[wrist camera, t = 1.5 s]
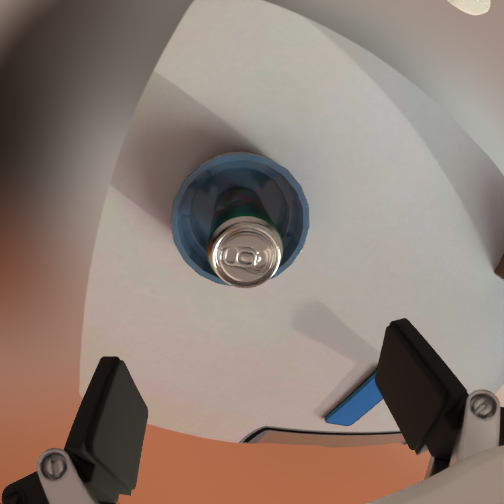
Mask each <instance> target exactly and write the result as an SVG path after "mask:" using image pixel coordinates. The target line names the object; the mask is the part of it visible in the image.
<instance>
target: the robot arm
mask: <svg viewBox="0 0 504 504" xmlns="http://www.w3.org/2000/svg"><path fill="white" fill-rule="evenodd" d="M375 384H376V386H377V388H378V390H379V392H380V393H381V395H382V397H383V399H384V401H385V403H386V404H387V406H388V408H389V410H390V412H391V414H392V416H393V417H394V419H395V421H396V423H397V425H398V427H399V429H400V431H401V433H402V435H403V436H404V438H405V440H406V442H407V444H408V446H409V448H410V449H411V450H415V452H416V454H417V455H418V454H421V453H423V452H425V451H427V450H429V452H430V454H431V459H430V462H429V466H428V469H427V472H426V475H425V478H424V480H423V481H421V482H418V483H416V484H414V485H412V486H409V487H407V488H405V489H402V490H400V491H398V492H395V493H393V494H390V495H388V496H385V497H382V498H380V499H377V500H374V501H371V502H368V503H366V504H504V407H500V402H499V400H498V398H497V397H496V396H495V395H494V394H493V393H492V392H490V391H487V390H476V391H474V392H472V393H471V394H470V395H468V393H467V390H466V389H465V387H464V386H463V385H462V384H461V382H460V381H459V380H458V379H457V377H456V376H455V375H454V374H453V372H452V371H451V370H450V369H449V367H448V366H447V365H446V364H445V362H444V361H443V360H442V359H441V358H440V356H439V355H438V354H437V353H436V352H435V350H434V349H433V348H432V347H431V346H430V344H429V343H428V342H427V341H426V340H425V339H424V337H423V336H422V335H421V334H420V333H419V332H418V331H417V329H416V328H415V327H414V326H413V325H412V324H411V323H410V321H409V320H408V319H406V318H403V319H399V320H395V321H392V322H391V323H390V325H389V326H388V327H387V328H386V331H385V336H384V341H383V345H382V350H381V354H380V358H379V363H378V367H377V371H376V374H375ZM147 419H148V409H147V406H146V404H145V402H144V401H143V399H142V397H141V395H140V393H139V391H138V389H137V387H136V385H135V383H134V381H133V379H132V377H131V375H130V373H129V371H128V369H127V367H126V365H125V363H124V361H122V360H120V359H119V358H118V357H102V358H101V359H100V361H99V364H98V366H97V368H96V370H95V373H94V375H93V377H92V379H91V382H90V384H89V386H88V389H87V391H86V394H85V395H84V398H83V400H82V402H81V405H80V407H79V410H78V412H77V415H76V418H75V420H74V423H73V425H72V428H71V431H70V433H69V437H68V439H67V442H66V445H65V448H64V450H61V449H58V448H51V449H48V450H46V451H45V452H43V453H42V454H41V455H40V456H39V458H38V461H37V466H36V467H37V471H36V472H34V473H32V474H30V475H28V476H26V477H24V478H22V479H20V480H18V481H16V482H14V483H12V484H10V485H8V486H7V487H6V488H5V489H4V491H3V494H2V504H120V503H119V502H118V496H119V494H124V495H131V490H132V489H135V487H136V482H137V476H138V469H139V463H140V457H141V451H142V445H143V440H144V434H145V429H146V424H147ZM0 504H1V503H0Z"/></svg>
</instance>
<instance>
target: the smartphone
mask: <svg viewBox="0 0 504 504" xmlns="http://www.w3.org/2000/svg"><path fill="white" fill-rule="evenodd" d="M375 374H376V372H375V373H374V374H373V375H372V376H371V377H370V378H369V379H368V380H367V381H366V382H365V383H363V384H362V385H361V386H360V387H359V388H358V389H357V390H356V391H355V392H354V393H353V394H352V395H351V396H349V397H348V398H347V399H346V400H345V401H344V402H343V403H342V404H340V405H339V406H338V407H337V408H336V409H335V410H333V411H332V412H331V413H330V414H329V415H327V416H326V417H325V422H326V423H331V424H337V425H343V426H350V425H352V424H354V423H355V422H356V421H357V420H359V419H360V418H361V417H362V416H363V415H365V414H366V413H367V412H368V411H369V410H371V409H372V408H373V407H374V406H375V405H376V404H378V403H379V402H380V401H381V400H382V399H383V397H382V395H381V393H380V392H379V390H378V388H377V386H376V384H375Z"/></svg>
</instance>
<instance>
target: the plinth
mask: <svg viewBox="0 0 504 504" xmlns="http://www.w3.org/2000/svg"><path fill="white" fill-rule="evenodd" d="M495 274H496V275H498V276H499V277H500V278H501V279H502V280H504V254H503V257H502V259H501V261H500V263H499V265H498V267H497V269H496V271H495Z"/></svg>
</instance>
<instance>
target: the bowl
mask: <svg viewBox="0 0 504 504" xmlns="http://www.w3.org/2000/svg"><path fill="white" fill-rule="evenodd" d="M236 188H243V189H247V190H250V191H252V192H254V193H255V194H256V195H257V196H258V197H259V198H260V199H261V201H262V203H263V205H264V207H265V208H266V210H267V212H268V214H269V216H270V217H271V219H272V221H273V223H274V225H275V227H276V228H277V230H278V232H279V234H280V236H281V239H282V243H283V256H282V260H281V262H280V264H279V266H278V268H277V270H276V272H275V273H274V275H273V276H272V277H271V278H270V279H272V278H274V277H276V276H278V275H279V274H280V273H282V272H283V271H284V270H285V269H287V268H288V267H289V266H290V265H291V264H292V263H293V262H294V261H295V259H296V258H297V256H298V255H299V253H300V252H301V250H302V249H303V247H304V244H305V241H306V237H307V234H308V231H309V207H308V203H307V200H306V198H305V195H304V192H303V190H302V187H301V185H300V184H299V183H298V182H297V181H296V179H295V178H294V177H293V176H292V175H291V173H290V172H289V171H288V170H287V169H286V168H284V167H282V166H281V165H279V164H277V163H276V162H274V161H272V160H271V159H269V158H267V157H265V156H262V155H259V154H254V153H250V152H245V151H238V152H229V153H222V154H220V155H218V156H215V157H213V158H211V159H209V160H207V161H205V162H203V163H202V164H201V165H200V166H199V167H198V168H197V169H196V170H195V171H194V172H193V173H192V174H191V175H190V176H188V177H187V178H186V179H185V180H184V182H183V184H182V185H181V187H180V189H179V191H178V193H177V195H176V197H175V199H174V201H173V208H172V215H171V228H172V233H173V239H174V242H175V245H176V247H177V249H178V250H179V252H180V254H181V256H182V258H183V259H184V260H185V262H186V263H187V264H188V265H189V266H190V267H191V268H192V269H194V270H195V271H196V272H197V273H198V274H199V275H201V276H203V277H205V278H207V279H209V280H211V281H213V282H215V283H218V284H223V285H229V286H232V285H230V284H228V283H226V282H225V281H223V280H222V279H221V278H220V277H219V276H218V275H217V274H216V273H215V272H214V271H213V269H212V268H211V266H210V263H209V261H208V257H207V245H208V239H209V233H210V228H211V222H212V217H213V212H214V207H215V204H216V202H217V200H218V199H219V197H220V196H221V195H222V194H224V193H225V192H227V191H229V190H231V189H236ZM270 279H269V280H270Z"/></svg>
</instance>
